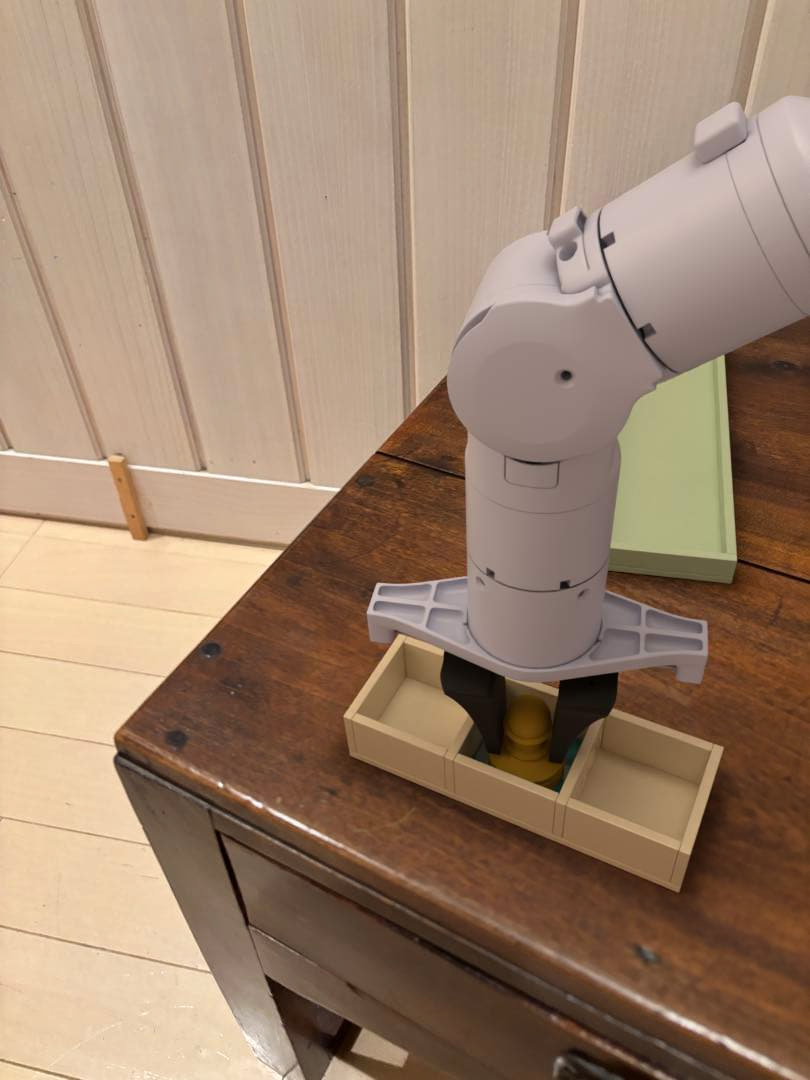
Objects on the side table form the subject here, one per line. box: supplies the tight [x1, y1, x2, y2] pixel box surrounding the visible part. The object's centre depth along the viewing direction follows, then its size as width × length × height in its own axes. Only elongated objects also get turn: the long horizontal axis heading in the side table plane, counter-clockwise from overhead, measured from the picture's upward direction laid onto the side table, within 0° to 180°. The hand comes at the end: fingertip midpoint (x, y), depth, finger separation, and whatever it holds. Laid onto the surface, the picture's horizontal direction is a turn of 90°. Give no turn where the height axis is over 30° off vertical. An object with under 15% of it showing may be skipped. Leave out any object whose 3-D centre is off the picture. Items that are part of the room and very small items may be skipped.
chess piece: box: [488, 694, 566, 790], centre depth 46 cm, size 4×4×5 cm
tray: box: [608, 354, 738, 585], centre depth 69 cm, size 34×9×2 cm, turn 168°
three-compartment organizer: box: [342, 634, 725, 893], centre depth 47 cm, size 18×6×4 cm, turn 63°
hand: (527, 742), depth 46 cm, fingers closed on chess piece, 2 cm apart
